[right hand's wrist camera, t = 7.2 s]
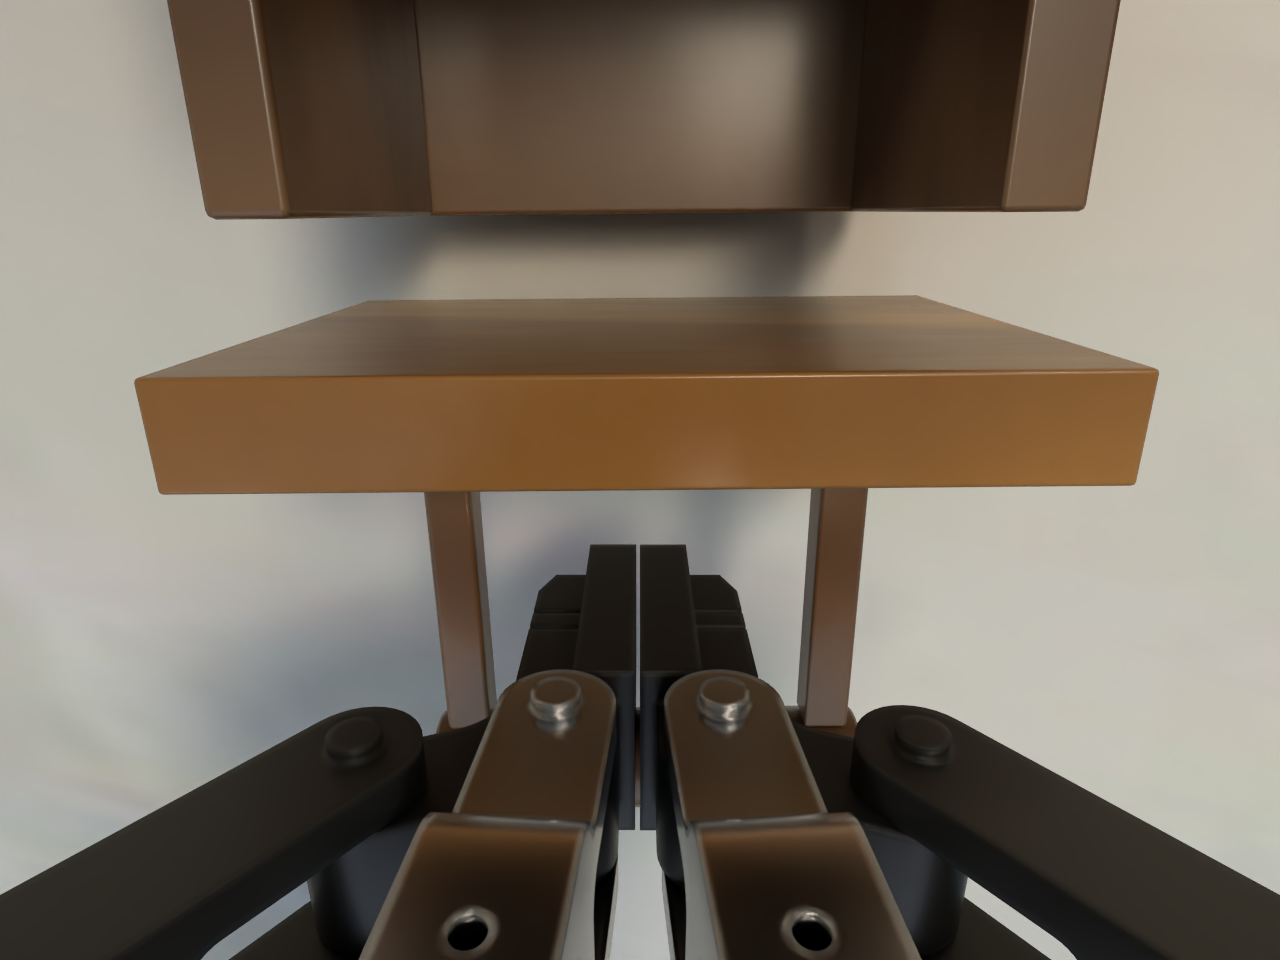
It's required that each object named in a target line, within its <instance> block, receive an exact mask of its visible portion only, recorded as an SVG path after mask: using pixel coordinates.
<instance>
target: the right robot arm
mask: <svg viewBox="0 0 1280 960" xmlns="http://www.w3.org/2000/svg"><path fill="white" fill-rule="evenodd" d="M635 760H636V544H591V545H590V551H589V558H588V565H587V572H586V575H556V576H555V577H554V578H553V579H551V580H550V581H549V582H548V583H547V584H546V585H545V586H544V587H543V588H542V589H541V590H539V593H538V597H537V601H536V605H535V608H534V613H533V616H532V620H531V624H530V629H529V632H528V636H527V640H526V644H525V647H524V651H523V655H522V659H521V663H520V667H519V671H518V675H517V679H516V682H514V683H512V684H511V685H510V686H509V687H508V688H506V689H505V690H504V692H503V693H502V694H501V695H500V697H499V699H498V701H497V703H496V706H495V708H494V711H493V713H492V715H490V716H488V717H487V718H485V719H483V720H481V721H479V722H477V723H475V724H472V725H469V726H466V727H463V728H459V729H456V730H452V731H447V732H442V733H438V734H433V735H429V736H424V737H423V735H422V730H421V727H420V725H419V723H418V722H417V721H416V719H414V718H413V717H412V716H411V715H409V714H407V713H405V712H403V711H400V710H397V709H393V708H387V707H364V708H358V709H352V710H348V711H345V712H341V713H338V714H336V715H333V716H330V717H328V718H326V719H324V720H322V721H320V722H318V723H316V724H314V725H312V726H311V727H309V728H307V729H305V730H303V731H301V732H300V733H298V734H296V735H294V736H292V737H290V738H288V739H287V740H285V741H283V742H281V743H279V744H277V745H276V746H274V747H272V748H270V749H268V750H266V751H265V752H263V753H261V754H259V755H257V756H255V757H254V758H252V759H250V760H248V761H246V762H244V763H242V764H241V765H239V766H237V767H235V768H233V769H231V770H230V771H228V772H226V773H224V774H222V775H220V776H219V777H217V778H215V779H213V780H211V781H209V782H207V783H206V784H204V785H202V786H200V787H198V788H196V789H195V790H193V791H191V792H189V793H187V794H185V795H184V796H182V797H180V798H178V799H176V800H174V801H173V802H171V803H169V804H167V805H165V806H163V807H161V808H160V809H158V810H156V811H154V812H152V813H150V814H149V815H147V816H145V817H143V818H141V819H139V820H138V821H136V822H134V823H132V824H130V825H128V826H126V827H125V828H123V829H121V830H119V831H117V832H115V833H114V834H112V835H110V836H108V837H106V838H104V839H103V840H101V841H99V842H97V843H95V844H93V845H92V846H90V847H88V848H86V849H84V850H82V851H80V852H79V853H77V854H75V855H73V856H71V857H69V858H68V859H66V860H64V861H62V862H60V863H58V864H57V865H55V866H53V867H51V868H49V869H47V870H45V871H44V872H42V873H40V874H38V875H36V876H34V877H33V878H31V879H29V880H27V881H25V882H23V883H22V884H20V885H18V886H16V887H14V888H12V889H10V890H9V891H7V892H5V893H3V894H1V895H0V960H201V959H202V958H203V956H204V955H205V954H206V953H207V952H208V951H209V950H210V949H211V948H212V947H213V946H214V945H216V944H217V943H218V942H220V941H221V940H222V939H224V938H225V937H227V936H228V935H229V934H231V933H232V932H234V931H235V930H237V929H238V928H239V927H241V926H242V925H244V924H245V923H247V922H248V921H249V920H251V919H252V918H254V917H255V916H257V915H258V914H260V913H261V912H262V911H264V910H265V909H267V908H268V907H270V906H271V905H272V904H274V903H275V902H277V901H278V900H280V899H281V898H282V897H284V896H285V895H287V894H288V893H290V892H291V891H292V890H294V889H295V888H297V887H298V886H300V885H301V884H302V883H304V882H305V881H307V883H308V889H309V894H310V899H311V901H310V902H308V903H307V904H305V905H304V906H303V907H301V908H300V909H298V910H297V911H296V912H294V913H293V914H292V915H290V916H289V917H287V918H286V919H285V920H283V921H282V922H280V923H279V924H278V925H276V926H275V927H274V928H272V929H271V930H269V931H268V932H267V933H265V934H264V935H262V936H261V937H260V938H258V939H257V940H256V941H254V942H253V943H251V944H250V945H249V946H247V947H246V948H244V949H243V950H242V951H240V952H239V953H238V954H236V955H235V956H233V957H232V958H231V959H229V960H609V959H610V951H611V943H612V934H613V926H614V918H615V910H616V902H617V893H618V832H619V830H635ZM640 830H656V843H657V857H658V860H659V863H660V866H661V868H662V893H663V901H664V909H665V917H666V926H667V934H668V942H669V950H670V959H671V960H1051V959H1049V958H1048V957H1047V956H1045V955H1044V954H1042V953H1041V952H1040V951H1038V950H1037V949H1036V948H1034V947H1033V946H1031V945H1030V944H1029V943H1027V942H1026V941H1024V940H1023V939H1022V938H1020V937H1019V936H1018V935H1016V934H1015V933H1013V932H1012V931H1011V930H1009V929H1008V928H1006V927H1005V926H1004V925H1002V924H1001V923H1000V922H998V921H997V920H995V919H994V918H993V917H991V916H990V915H988V914H987V913H986V912H984V911H983V910H982V909H980V908H979V907H977V906H976V905H975V904H973V903H972V902H970V901H969V900H968V899H966V898H965V897H964V894H965V889H966V884H967V878H968V877H969V878H970V879H972V880H973V881H975V882H976V883H978V884H979V885H980V886H982V887H983V888H985V889H986V890H988V891H989V892H990V893H992V894H993V895H995V896H996V897H998V898H999V899H1000V900H1002V901H1003V902H1005V903H1006V904H1008V905H1009V906H1010V907H1012V908H1013V909H1015V910H1016V911H1018V912H1019V913H1020V914H1022V915H1023V916H1025V917H1026V918H1028V919H1029V920H1030V921H1032V922H1033V923H1035V924H1036V925H1038V926H1039V927H1041V928H1042V929H1043V930H1045V931H1046V932H1048V933H1049V934H1051V935H1052V936H1053V937H1055V938H1056V939H1057V940H1059V941H1060V942H1061V943H1062V944H1063V945H1064V946H1065V947H1067V948H1068V949H1069V951H1070V952H1071V953H1072V954H1073V955H1074V956H1075V958H1076V959H1077V960H1280V895H1279V894H1277V893H1275V892H1273V891H1271V890H1269V889H1268V888H1266V887H1264V886H1262V885H1260V884H1258V883H1257V882H1255V881H1253V880H1251V879H1249V878H1247V877H1246V876H1244V875H1242V874H1240V873H1238V872H1236V871H1234V870H1233V869H1231V868H1229V867H1227V866H1225V865H1223V864H1222V863H1220V862H1218V861H1216V860H1214V859H1212V858H1211V857H1209V856H1207V855H1205V854H1203V853H1201V852H1200V851H1198V850H1196V849H1194V848H1192V847H1190V846H1188V845H1187V844H1185V843H1183V842H1181V841H1179V840H1177V839H1176V838H1174V837H1172V836H1170V835H1168V834H1166V833H1165V832H1163V831H1161V830H1159V829H1157V828H1155V827H1153V826H1152V825H1150V824H1148V823H1146V822H1144V821H1142V820H1141V819H1139V818H1137V817H1135V816H1133V815H1131V814H1130V813H1128V812H1126V811H1124V810H1122V809H1120V808H1119V807H1117V806H1115V805H1113V804H1111V803H1109V802H1107V801H1106V800H1104V799H1102V798H1100V797H1098V796H1096V795H1095V794H1093V793H1091V792H1089V791H1087V790H1085V789H1084V788H1082V787H1080V786H1078V785H1076V784H1074V783H1072V782H1071V781H1069V780H1067V779H1065V778H1063V777H1061V776H1060V775H1058V774H1056V773H1054V772H1052V771H1050V770H1049V769H1047V768H1045V767H1043V766H1041V765H1039V764H1038V763H1036V762H1034V761H1032V760H1030V759H1028V758H1026V757H1025V756H1023V755H1021V754H1019V753H1017V752H1015V751H1014V750H1012V749H1010V748H1008V747H1006V746H1004V745H1003V744H1001V743H999V742H997V741H995V740H993V739H991V738H990V737H988V736H986V735H984V734H982V733H980V732H979V731H977V730H975V729H973V728H971V727H969V726H968V725H966V724H964V723H962V722H960V721H958V720H956V719H954V718H952V717H950V716H948V715H946V714H943V713H940V712H938V711H935V710H931V709H927V708H923V707H917V706H907V705H893V706H886V707H881V708H878V709H875V710H873V711H871V712H869V713H867V714H866V715H864V716H863V717H862V718H861V719H860V720H859V722H858V723H857V726H856V728H855V734H854V737H849V736H844V735H840V734H835V733H831V732H826V731H821V730H818V729H814V728H810V727H807V726H805V725H802V724H799V723H797V722H795V721H793V720H791V719H790V718H789V715H788V713H787V710H786V708H785V705H784V703H783V701H782V699H781V697H780V695H779V694H778V693H777V691H776V690H775V689H774V688H773V687H771V686H770V685H769V684H768V683H766V682H764V681H763V680H761V679H759V678H758V675H757V671H756V667H755V662H754V658H753V654H752V650H751V646H750V642H749V638H748V634H747V630H746V629H745V622H744V618H743V614H742V610H741V605H740V601H739V597H738V593H737V591H736V590H735V589H734V588H733V587H732V586H731V585H730V584H729V583H728V582H727V581H726V580H724V579H723V578H722V577H721V576H720V575H690V574H689V566H688V559H687V551H686V545H640Z"/></svg>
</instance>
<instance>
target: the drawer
mask: <svg viewBox="0 0 1280 960" xmlns="http://www.w3.org/2000/svg"><path fill="white" fill-rule="evenodd" d="M167 2H168V8H169V13H170V19H171V24H172V30H173V35H174V41H175V46H176V52H177V57H178V63H179V68H180V74H181V79H182V85H183V90H184V96H185V101H186V107H187V112H188V118H189V123H190V129H191V134H192V140H193V145H194V151H195V156H196V162H197V167H198V173H199V178H200V184H201V189H202V195H203V200H204V206H205V211H206V213H207V215H208V216H209V217H211V218H214V219H298V218H341V217H384V216H427V215H529V214H635V213H740V212H846V211H869V212H1060V211H1080V210H1082V209H1084V207H1085V205H1086V201H1087V195H1088V189H1089V183H1090V177H1091V171H1092V165H1093V159H1094V153H1095V148H1096V142H1097V136H1098V130H1099V124H1100V118H1101V112H1102V106H1103V100H1104V94H1105V89H1106V83H1107V77H1108V71H1109V65H1110V59H1111V53H1112V47H1113V41H1114V35H1115V29H1116V24H1117V18H1118V12H1119V6H1120V0H167ZM1158 376H1159V371H1158V370H1157V369H1155V368H1152V367H1149V366H1146V365H1143V364H1139V363H1136V362H1133V361H1129V360H1126V359H1123V358H1120V357H1116V356H1113V355H1110V354H1106V353H1103V352H1100V351H1097V350H1093V349H1090V348H1087V347H1084V346H1080V345H1077V344H1074V343H1070V342H1067V341H1064V340H1061V339H1057V338H1054V337H1051V336H1047V335H1044V334H1041V333H1038V332H1034V331H1031V330H1028V329H1024V328H1021V327H1018V326H1015V325H1011V324H1008V323H1005V322H1002V321H998V320H995V319H992V318H988V317H985V316H982V315H979V314H975V313H972V312H969V311H965V310H962V309H959V308H956V307H952V306H949V305H946V304H943V303H939V302H936V301H933V300H929V299H926V298H923V297H920V296H814V297H708V298H602V299H496V300H389V301H366V302H363V303H360V304H357V305H354V306H351V307H348V308H345V309H342V310H339V311H336V312H333V313H330V314H327V315H324V316H321V317H318V318H315V319H312V320H309V321H306V322H303V323H300V324H298V325H295V326H292V327H289V328H286V329H283V330H280V331H277V332H274V333H271V334H268V335H265V336H262V337H259V338H256V339H253V340H250V341H247V342H244V343H241V344H238V345H235V346H232V347H229V348H226V349H223V350H220V351H217V352H214V353H211V354H208V355H205V356H202V357H199V358H196V359H193V360H190V361H187V362H184V363H181V364H178V365H175V366H172V367H169V368H166V369H163V370H160V371H157V372H154V373H151V374H148V375H145V376H142V377H139V378H137V379H135V383H134V384H135V388H136V393H137V397H138V402H139V406H140V411H141V415H142V419H143V424H144V428H145V433H146V437H147V441H148V446H149V450H150V455H151V459H152V464H153V468H154V472H155V477H156V481H157V486H158V490H159V492H160V494H165V495H166V494H273V493H381V492H424V496H425V505H426V514H427V524H428V533H429V543H430V552H431V561H432V571H433V580H434V589H435V599H436V608H437V617H438V627H439V636H440V646H441V655H442V664H443V674H444V683H445V692H446V702H447V710H446V711H445V712H444V713H443V715H442V717H441V719H440V722H439V725H438V728H437V732H436V734H438V733H442V732H447V731H452V730H456V729H459V728H463V727H466V726H469V725H472V724H475V723H477V722H479V721H481V720H483V719H485V718H487V717H488V716H490V715H492V713H493V711H494V708H495V706H496V703H497V700H496V687H495V675H494V663H493V651H492V638H491V626H490V614H489V602H488V590H487V577H486V565H485V553H484V541H483V528H482V516H481V504H480V492H489V491H596V490H704V489H811V501H810V515H809V530H808V545H807V560H806V575H805V589H804V604H803V619H802V634H801V649H800V663H799V678H798V693H797V703H798V706H785V708H786V710H787V713H788V715H789V718H790V719H791V720H793V721H795V722H797V723H799V724H802V725H805V726H807V727H810V728H814V729H818V730H821V731H826V732H831V733H835V734H840V735H844V736H849V737H854V734H855V728H856V726H857V722H856V719H855V717H854V714H853V712H852V711H851V709H850V708H849V707H848V698H849V688H850V677H851V666H852V655H853V645H854V634H855V623H856V612H857V602H858V591H859V580H860V569H861V559H862V548H863V537H864V527H865V516H866V505H867V494H868V488H919V487H1026V486H1130V485H1134V484H1135V483H1136V479H1137V474H1138V470H1139V465H1140V460H1141V456H1142V451H1143V446H1144V441H1145V437H1146V432H1147V427H1148V423H1149V418H1150V413H1151V409H1152V404H1153V399H1154V394H1155V390H1156V385H1157V380H1158ZM635 807H640V707H636V760H635Z"/></svg>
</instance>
